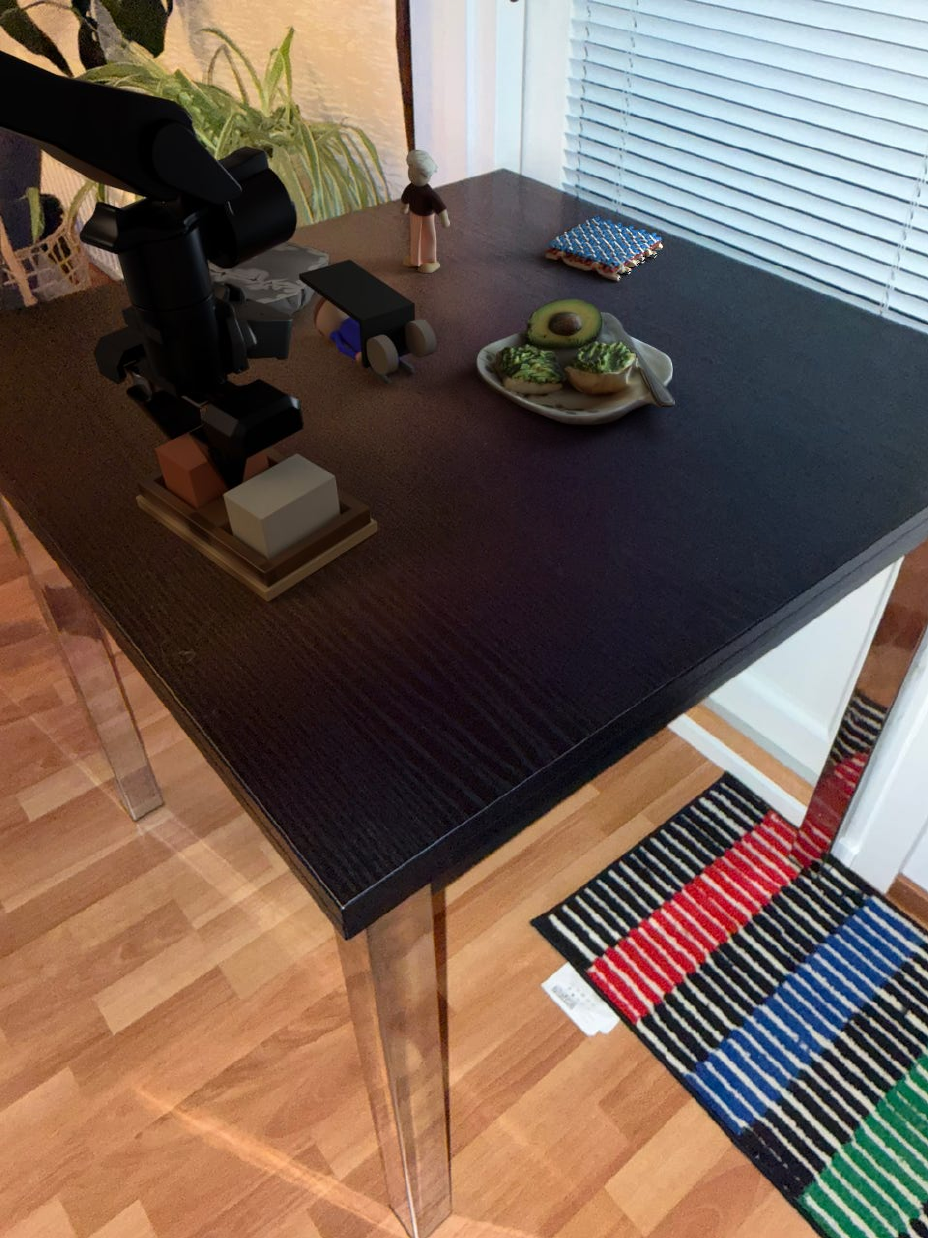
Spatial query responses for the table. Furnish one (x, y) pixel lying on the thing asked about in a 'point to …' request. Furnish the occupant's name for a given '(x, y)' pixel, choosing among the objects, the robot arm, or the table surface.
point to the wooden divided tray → (262, 576)
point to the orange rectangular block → (198, 471)
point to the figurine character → (368, 318)
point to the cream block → (282, 505)
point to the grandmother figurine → (422, 211)
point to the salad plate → (576, 366)
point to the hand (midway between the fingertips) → (217, 476)
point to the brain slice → (275, 276)
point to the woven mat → (604, 247)
